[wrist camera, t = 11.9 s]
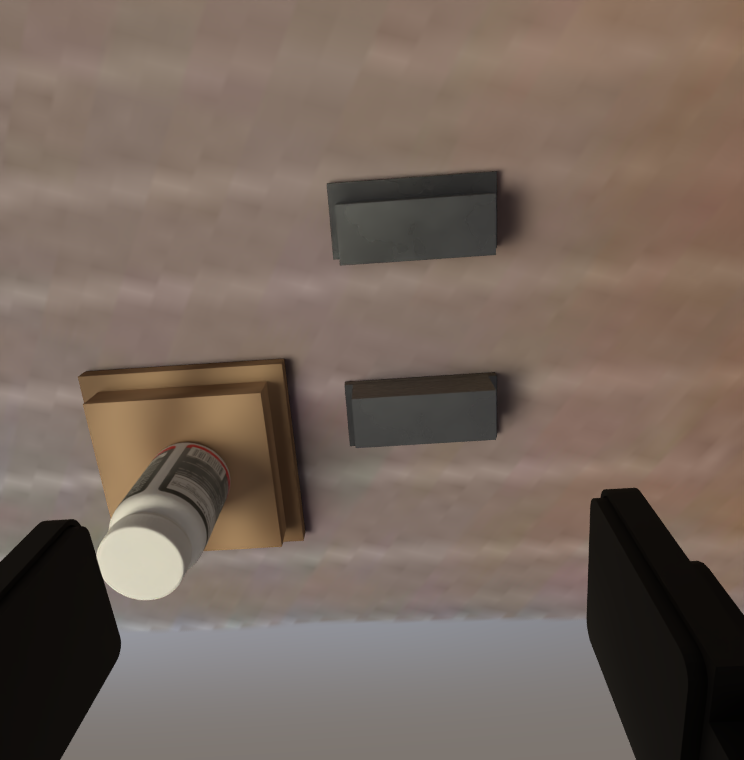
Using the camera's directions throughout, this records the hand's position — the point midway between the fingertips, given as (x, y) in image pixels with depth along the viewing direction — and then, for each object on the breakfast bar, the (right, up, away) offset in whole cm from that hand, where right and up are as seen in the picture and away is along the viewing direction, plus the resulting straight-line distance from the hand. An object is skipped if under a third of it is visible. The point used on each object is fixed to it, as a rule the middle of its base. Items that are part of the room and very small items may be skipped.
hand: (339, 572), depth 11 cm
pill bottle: (-10, -2, +24) cm, 26 cm away
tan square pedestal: (-10, -1, +27) cm, 29 cm away
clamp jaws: (+3, +7, +24) cm, 25 cm away
